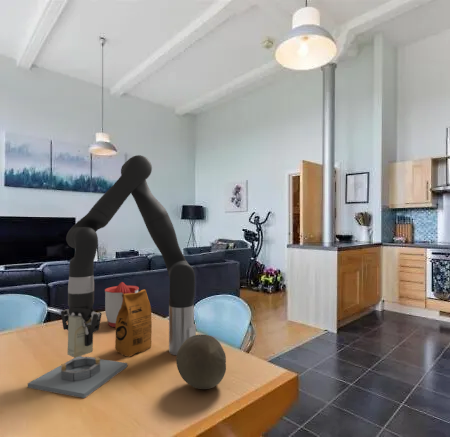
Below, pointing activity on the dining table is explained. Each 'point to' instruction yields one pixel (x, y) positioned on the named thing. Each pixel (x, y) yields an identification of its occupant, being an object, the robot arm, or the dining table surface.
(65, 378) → the collar
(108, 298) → the citrus juicer
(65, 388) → the board
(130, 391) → the dining table surface
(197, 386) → the dark grey round ball
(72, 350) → the skincare box
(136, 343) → the coffee package
